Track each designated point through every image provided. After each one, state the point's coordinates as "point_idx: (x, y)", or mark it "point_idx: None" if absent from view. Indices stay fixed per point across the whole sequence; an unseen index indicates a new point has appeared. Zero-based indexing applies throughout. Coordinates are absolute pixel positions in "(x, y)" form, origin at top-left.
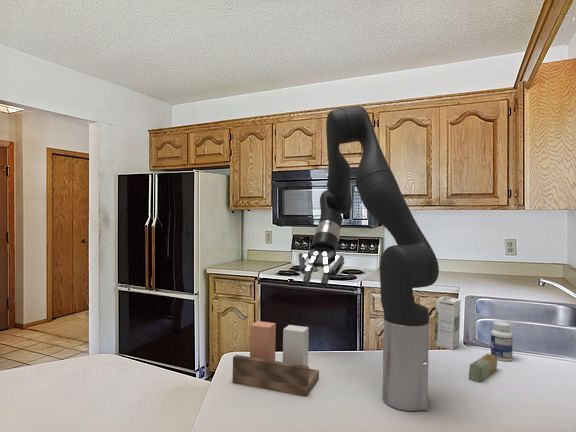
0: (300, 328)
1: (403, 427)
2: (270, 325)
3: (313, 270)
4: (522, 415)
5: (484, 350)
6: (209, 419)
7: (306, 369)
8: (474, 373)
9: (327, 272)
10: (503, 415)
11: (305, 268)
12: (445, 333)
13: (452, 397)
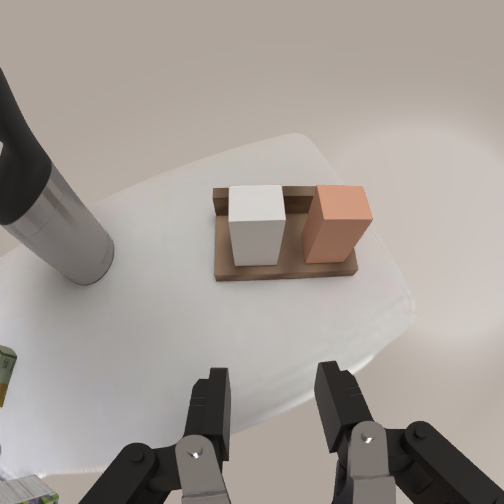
0: (245, 204)
1: (102, 199)
2: (324, 198)
3: (333, 497)
4: (4, 272)
5: (9, 472)
6: (301, 141)
7: (214, 189)
8: (6, 349)
9: (186, 440)
10: (15, 265)
11: (391, 448)
12: (28, 487)
13: (40, 291)
